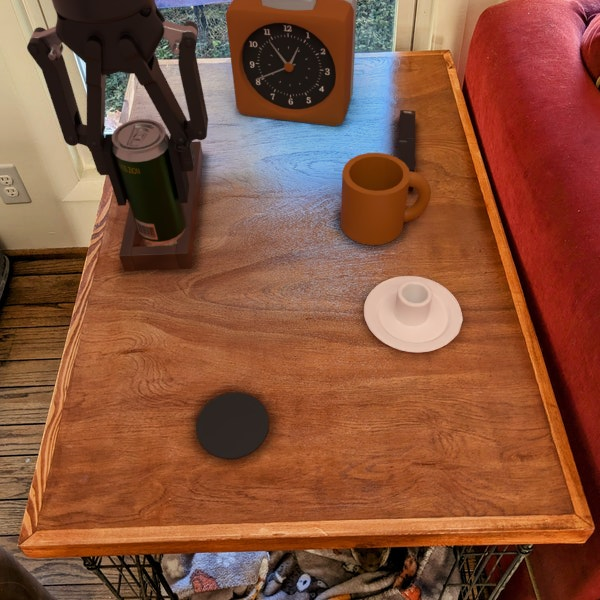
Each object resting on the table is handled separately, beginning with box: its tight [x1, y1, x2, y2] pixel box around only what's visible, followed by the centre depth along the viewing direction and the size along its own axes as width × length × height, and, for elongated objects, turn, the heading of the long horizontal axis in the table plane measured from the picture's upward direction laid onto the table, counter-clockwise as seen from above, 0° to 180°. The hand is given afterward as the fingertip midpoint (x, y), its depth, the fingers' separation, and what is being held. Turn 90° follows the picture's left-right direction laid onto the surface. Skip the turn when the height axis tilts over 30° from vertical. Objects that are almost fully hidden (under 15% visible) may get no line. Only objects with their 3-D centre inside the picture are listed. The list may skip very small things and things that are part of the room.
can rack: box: [118, 140, 204, 272], centre depth 90 cm, size 9×24×3 cm, turn 2°
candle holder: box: [363, 275, 464, 353], centre depth 76 cm, size 12×12×4 cm
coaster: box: [195, 392, 270, 460], centre depth 69 cm, size 8×8×1 cm
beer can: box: [112, 118, 187, 246], centre depth 62 cm, size 5×5×12 cm
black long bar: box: [396, 109, 416, 193], centre depth 97 cm, size 18×3×3 cm, turn 173°
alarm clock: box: [225, 0, 358, 127], centre depth 99 cm, size 18×9×21 cm, turn 77°
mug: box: [340, 152, 432, 246], centre depth 85 cm, size 9×12×9 cm
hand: (154, 195), depth 63 cm, fingers closed on beer can, 5 cm apart
